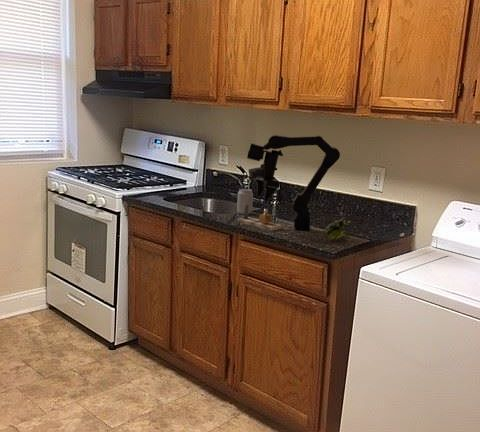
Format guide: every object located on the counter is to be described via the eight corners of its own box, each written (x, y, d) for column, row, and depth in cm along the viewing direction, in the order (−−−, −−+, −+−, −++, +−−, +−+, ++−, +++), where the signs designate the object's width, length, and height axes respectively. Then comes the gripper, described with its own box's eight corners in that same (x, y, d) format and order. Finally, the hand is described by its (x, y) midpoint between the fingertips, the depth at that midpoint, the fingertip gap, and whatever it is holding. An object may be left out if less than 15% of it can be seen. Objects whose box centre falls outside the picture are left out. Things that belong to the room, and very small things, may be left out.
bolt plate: (282, 228, 239) (283, 210, 238) (271, 230, 234) (272, 212, 233) (247, 220, 254) (248, 203, 252) (237, 221, 249) (237, 204, 247)
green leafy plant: (331, 249, 229) (338, 224, 233) (353, 250, 221) (360, 224, 225) (317, 238, 222) (324, 212, 226) (339, 238, 214) (347, 211, 218)
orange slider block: (271, 222, 242) (271, 209, 240) (265, 223, 239) (265, 210, 237) (265, 221, 244) (266, 208, 243) (259, 222, 241) (260, 208, 240)
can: (250, 215, 264) (251, 191, 262) (235, 214, 266) (236, 189, 263) (253, 212, 272) (254, 188, 269) (238, 211, 273) (239, 187, 271)
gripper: (246, 156, 242) (238, 190, 245) (260, 164, 224) (251, 200, 228) (269, 161, 245) (261, 194, 249) (284, 169, 228) (275, 204, 232)
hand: (261, 198), depth 239 cm, fingers open, 9 cm apart
